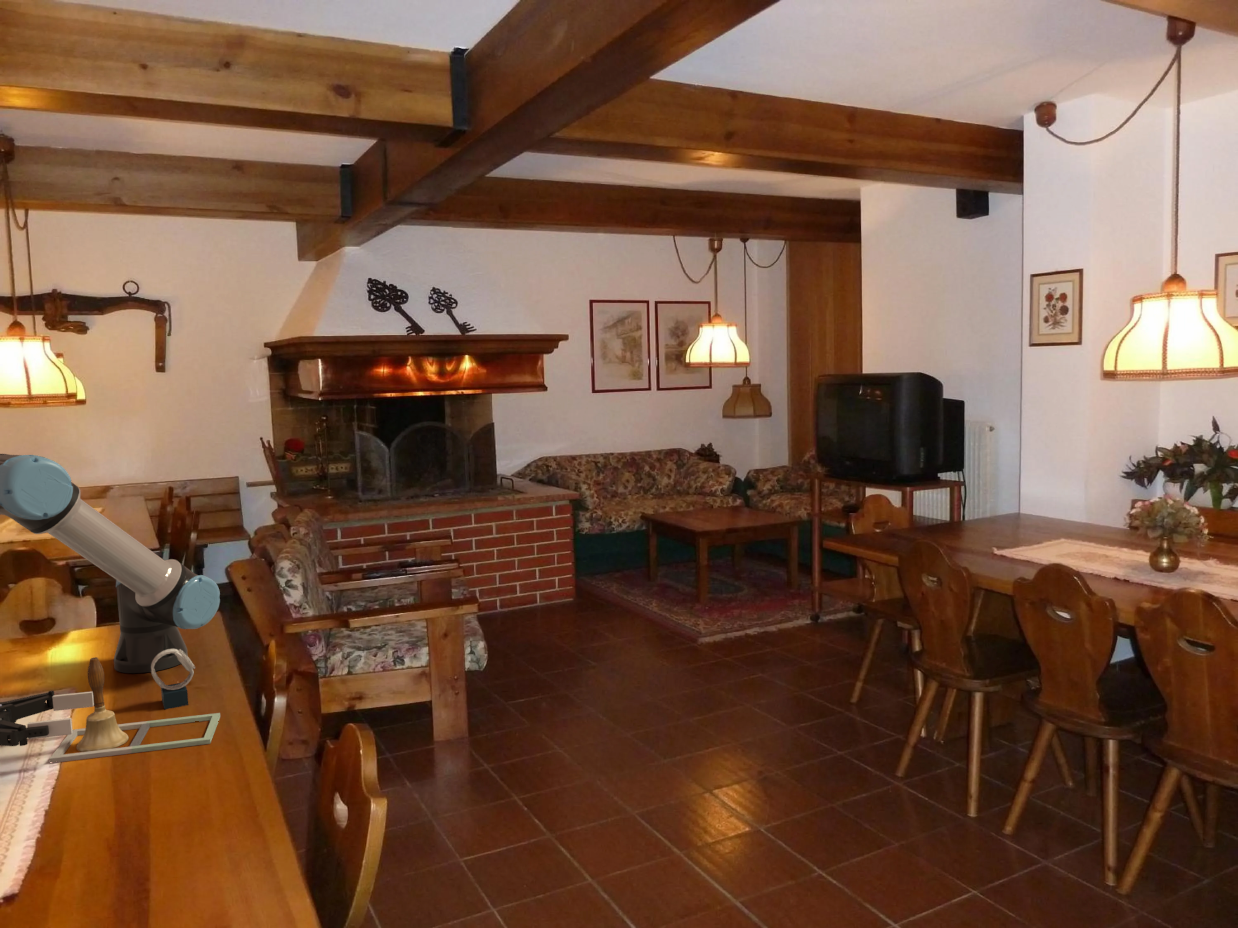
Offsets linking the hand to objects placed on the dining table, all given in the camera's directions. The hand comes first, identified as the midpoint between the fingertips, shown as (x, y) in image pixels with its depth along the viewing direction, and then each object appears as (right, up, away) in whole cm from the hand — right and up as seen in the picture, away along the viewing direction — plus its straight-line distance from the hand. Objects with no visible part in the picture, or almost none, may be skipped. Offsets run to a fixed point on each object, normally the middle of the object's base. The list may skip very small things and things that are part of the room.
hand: (82, 711), depth 167 cm
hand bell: (+3, -6, +2) cm, 7 cm away
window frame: (+8, -6, +4) cm, 11 cm away
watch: (+6, -4, +22) cm, 23 cm away
